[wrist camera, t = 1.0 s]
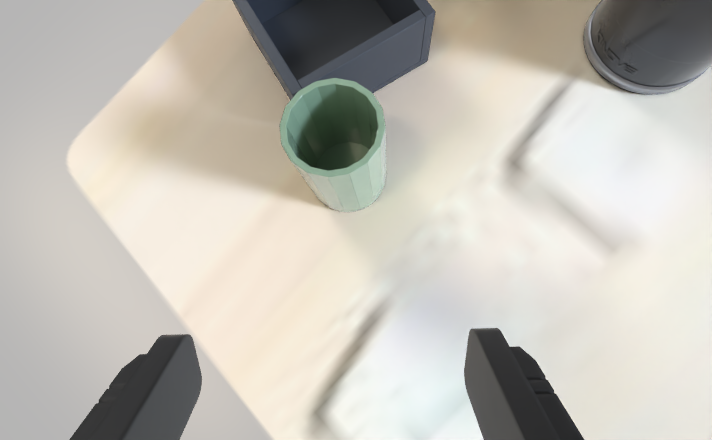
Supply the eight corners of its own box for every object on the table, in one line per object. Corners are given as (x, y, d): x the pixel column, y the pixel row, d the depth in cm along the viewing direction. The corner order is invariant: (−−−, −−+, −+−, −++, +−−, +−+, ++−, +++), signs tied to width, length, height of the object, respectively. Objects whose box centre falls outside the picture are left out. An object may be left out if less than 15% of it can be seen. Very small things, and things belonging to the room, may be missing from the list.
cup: (361, 128, 31) (350, 60, 22) (400, 187, 29) (404, 141, 20) (298, 164, 30) (262, 111, 22) (334, 226, 29) (311, 196, 20)
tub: (358, -34, 34) (352, -98, 28) (427, 61, 31) (435, 11, 26) (247, 29, 33) (220, -23, 28) (309, 130, 31) (292, 95, 25)
